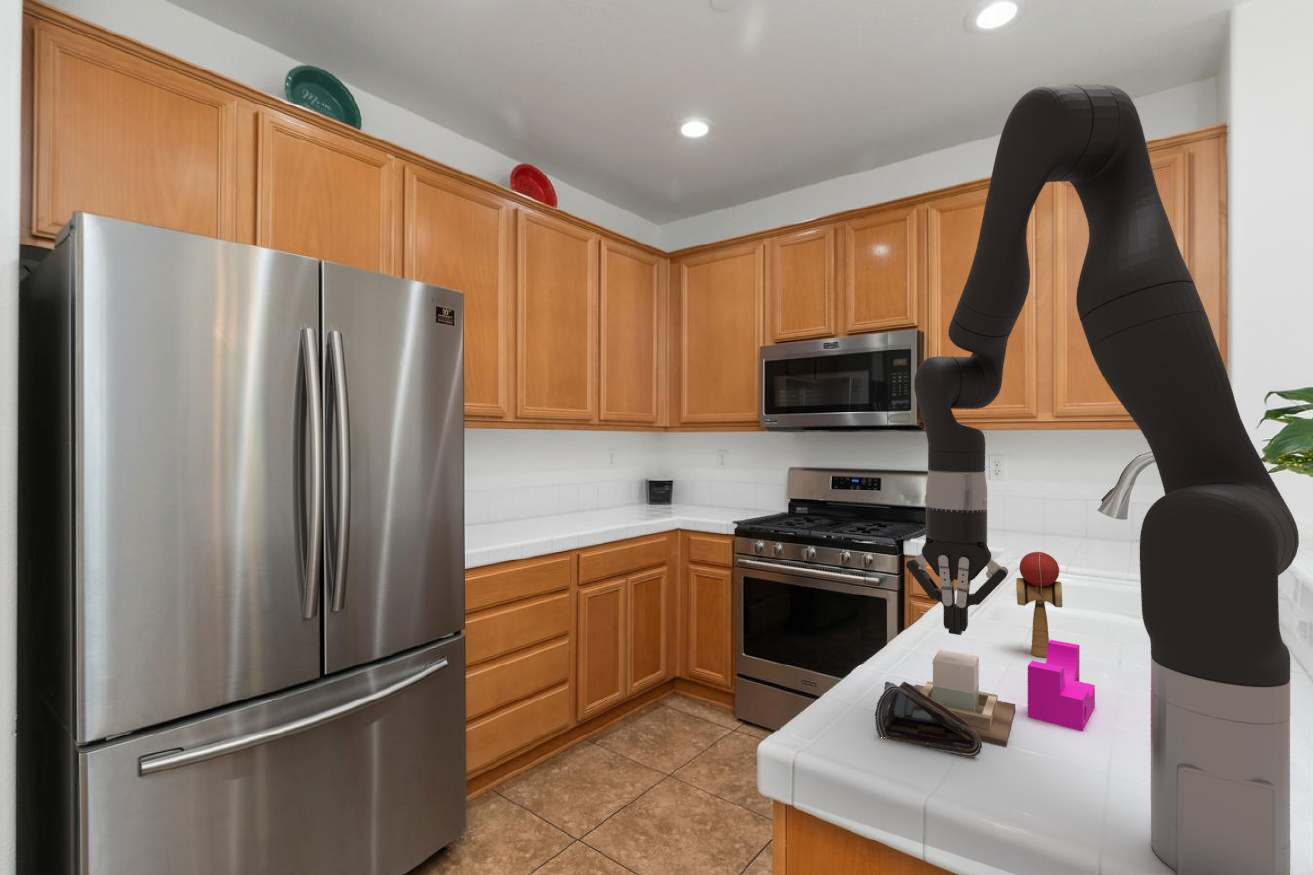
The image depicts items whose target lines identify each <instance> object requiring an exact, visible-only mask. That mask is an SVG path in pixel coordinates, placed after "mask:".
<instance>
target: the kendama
mask: <svg viewBox="0 0 1313 875" xmlns="http://www.w3.org/2000/svg"><path fill="white" fill-rule="evenodd" d="M1019 572H1020V575H1021V576H1022V577H1016V578H1015V579H1016V580H1015V582H1016V584H1015V585H1016V600H1017V601H1016V603H1017V605H1018V606H1026V605H1029V603H1031V602H1034V601H1035V603H1034V609H1033V618H1032V630H1031V631H1032V634H1031V646H1030V647H1031V648H1030V654H1031V655H1032V656H1035V657H1037V658H1038V657H1039V658H1047V645H1048V642H1049V641H1050V636H1049V624H1048V623H1049V622H1048V616H1047V612H1046V611H1047V610H1046V605H1045V604H1046V603H1049V604H1051V605H1053V607H1055V608H1063V589H1062V587H1063V586H1062V582H1061V581H1058V578H1059V575H1060V567H1059V564H1058V562H1057V560H1056V559H1055V558H1054V557H1053V556H1051V555H1050V554H1048V553H1046V552H1042V551H1034V552H1029V553H1027V554H1026V555H1024V556H1022V558H1021V560H1020V563H1019Z"/></svg>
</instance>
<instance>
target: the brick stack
mask: <svg viewBox="0 0 1313 875" xmlns="http://www.w3.org/2000/svg"><path fill="white" fill-rule="evenodd" d="M979 658H980V656H979V655H976V654H975V655H974V654H968V653H964V652H963V653H961V652H958V651H957V652H955V651H951V650H943V649H938V651H937V652H936V654H935V655H934V658H933V659H932V682H933V700H934V701H935V702H938V701H940V702H942V703H943V704H944V705H945V706H946V707H951V708H956V709H960V710H965V711H970V712H975V713H977V711H978V708H979V691H980V690H979V689H980V688H979V687H980V682H979V681H980V680H979V679H980V673H979V672H980V662H979V660H980V659H979Z"/></svg>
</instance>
